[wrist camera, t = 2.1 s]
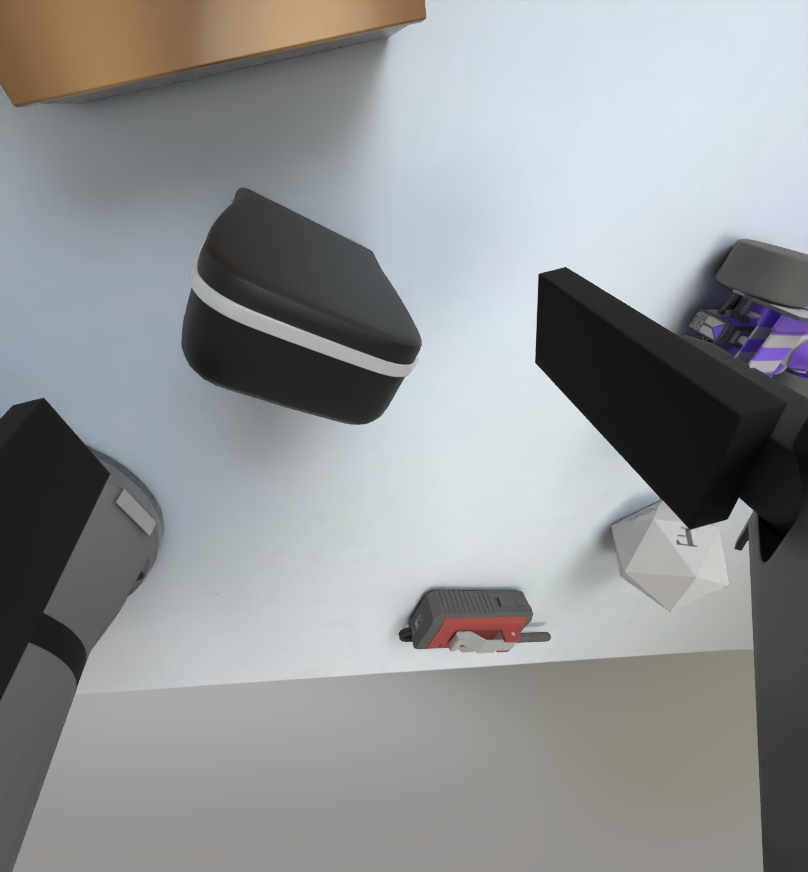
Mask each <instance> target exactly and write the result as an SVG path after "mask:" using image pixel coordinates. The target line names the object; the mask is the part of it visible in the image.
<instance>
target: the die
mask: <svg viewBox="0 0 808 872" xmlns="http://www.w3.org/2000/svg"><path fill="white" fill-rule="evenodd" d="M611 528H612V534H613V539H614V544H615V550H616V555H617V560H618V566H619V571H620V576H621V577H622V578H624V579H625V580H626V581H628V582H629V583H630V584H632V585H633V586H635V587H636V588H637V589H639V590H640V591H642V592H643V593H644V594H646V595H647V596H648V597H650V598H651V599H653V600H654V601H655V602H657V603H658V604H660V605H661V606H662V607H664V608H665V609H667V610H668V611H669V612H672V611H674V610H676V609H678V608H680V607H683V606H685V605H687V604H689V603H691V602H694V601H696V600H698V599H700V598H702V597H705V596H707V595H709V594H711V593H714V592H716V591H718V590H720V589H722V588H725V587H727V586H729V584H728V578H727V572H726V566H725V560H724V554H723V548H722V542H721V536H720V530H719V527H718V526H716V525H714V524H709V525H706V526H702V527H699V528H695V529H692V530H690V529H689V528H688V527H687V526H686V525H685V524H684V523H683V522H682V521H681V520H680V519H679V518H678V516H677V515H676V514H675V513H674V512H673V511H672V510H671V509H670V508H669V507H668V506H667V505H666V503H665V502H664V501H663V500H660V501H658V502H656V503H654V504H652V505H650V506H648V507H646V508H644V509H642V510H640V511H638V512H636V513H634V514H632V515H630V516H628V517H626V518H624V519H622V520H620V521H618V522H616V523H614V524H612V525H611Z"/></svg>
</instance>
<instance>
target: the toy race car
mask: <svg viewBox="0 0 808 872" xmlns="http://www.w3.org/2000/svg"><path fill="white" fill-rule="evenodd" d="M715 279H716V280H717V281H719V282H720V283H721V284H723V285H725V286H727V287H729V288H732V289H733V290H732V291H733V295H732V296H731V298H730V299H729V300H728V301H727V302H726V304H725V305H724V306H723V307H722V308H721V309H699V311H698V312H697V314H696V315H695V317H694V319H693V320H692V322H691V323H690V325H689V328H690V329H692V330H694V331H696V332H697V333H699V334H701V335H702V336H701V337H702V339H701V340H704V341H705V340H706V339H710V340H711V341H712V343H713V344H715V345H716V346H718V347H720V348H722V349H723V350H725V351H727V352H728V353H730V354H732V357H733V358H735V357H737V358H739V359H741V360H742V361H744V362H746V363H747V364H749V366H750V368H756V369H758V370H759V371H761V372H763V373H765V374H766V375H768V376H770V377H772V378H773V379H775V380H777V381H778V382H780V383H782V384H784V385H785V386H787V387H789V388H791V389H792V390H794V391H796V392H797V393H799V394H801V395H803V396H804V397H806V398H808V255H807V254H804V253H800V252H797V251H793V250H789V249H786V248H782V247H778V246H774V245H770V244H767V243H762V242H758V241H754V240H748V239H740V240H738V241H737V242H736V244H735V245H734V247H733V248H732V250H731V252H730V253H729V255H728V257H727V258H726V260H725V261H724V263H723V265H722V266H721V268H720V270H719V271H718V273H717V275H716V276H715ZM738 294H739V295H741V296H743V297H742V298H741V299H740V301H739V302H738V304H737V305H736V307H735V308H734V310H727V309H726V308H727V307H728V306H729V304H730V303H731V302H732V300H733V299H734V298H735V297H736V295H738Z"/></svg>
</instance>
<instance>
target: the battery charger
mask: <svg viewBox="0 0 808 872" xmlns="http://www.w3.org/2000/svg"><path fill="white" fill-rule="evenodd" d="M191 286H192V288H191V292H190V296H189V300H188V304H187V308H186V312H185V316H184V320H183V329H182V349H183V352H184V355H185V358H186V360H187V362H188V363H189V365H190V366H191V367H192V369H193V370H194V371H195V372H196V373H197V374H199V375H200V376H201V377H202V378H203V379H205V380H207V381H209V382H211V383H213V384H214V385H217V386H220V387H222V388H225V389H228V390H231V391H234V392H237V393H241V394H244V395H247V396H251V397H254V398H257V399H261V400H264V401H267V402H270V403H274V404H277V405H280V406H284V407H287V408H291V409H294V410H298V411H301V412H305V413H309V414H312V415H316V416H319V417H323V418H327V419H330V420H334V421H338V422H342V423H346V424H354V425H360V424H368V423H370V422H372V421H374V420H376V419H377V418H379V417H380V416H381V415H382V414H383V413H384V411H385V410H386V409H387V407H388V406H389V404H390V402H391V400H392V399H393V397H394V395H395V393H396V392H397V390H398V388H399V386H400V385H401V383H402V381H403V379H404V378H405V376H408V375H409V374H410V373H411V372H412V370H413V369H414V367H415V365H416V363H417V360H418V357H417V355H418V353H419V351H420V348H421V346H422V341H421V337H420V334H419V332H418V330H417V328H416V326H415V324H414V322H413V320H412V318H411V316H410V314H409V313H408V311H407V309H406V307H405V306H404V304H403V302H402V300H401V299H400V297H399V296H398V294H397V292H396V291H395V289H394V288H393V286H392V284H391V283H390V281H389V280H388V278H387V277H386V275H385V274H384V272H383V271H382V269H381V267H380V265H379V264H378V262H377V260H376V258H375V256H374V254H373V252H372V251H370V250H369V249H367V248H365V247H363V246H361V245H359V244H357V243H355V242H353V241H351V240H349V239H347V238H345V237H343V236H341V235H339V234H337V233H335V232H333V231H331V230H329V229H327V228H325V227H323V226H321V225H319V224H317V223H315V222H313V221H311V220H309V219H307V218H305V217H303V216H301V215H299V214H297V213H295V212H293V211H291V210H289V209H287V208H285V207H283V206H281V205H279V204H277V203H275V202H273V201H271V200H269V199H267V198H265V197H263V196H261V195H259V194H257V193H255V192H253V191H251V190H249V189H246V188H240V189H239V190H237V192H236V195H235V198H234V200H232V201H231V204H230V206H229V207H228V208H227V209H226V210H225V211H224V212H223V213H222V214H221V215H220V216H219V217H218V218H217V220H216V221H215V223H214V224H213V225H212V227H211V229H210V231H209V233H208V235H207V236H206V238H205V239H204V241H203V243H202V245H201V246H200V249H199V251H198V253H197V255H196V258H195V260H194V264H193V268H192V272H191Z"/></svg>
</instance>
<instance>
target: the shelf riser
mask: <svg viewBox="0 0 808 872" xmlns="http://www.w3.org/2000/svg"><path fill="white" fill-rule="evenodd" d="M425 19H426V9H425V0H0V84H1V86H2V87H3V89H4V91H5V92H6V94H7V96H8V97H9V99H10V100H11V102H12V104H13V105H14V106H15V107H26V106H31V105H36V104H62V103H83V102H88V101H92V100H97V99H102V98H106V97H111V96H116V95H120V94H125V93H130V92H134V91H139V90H144V89H148V88H153V87H157V86H162V85H167V84H171V83H176V82H181V81H185V80H190V79H195V78H199V77H204V76H209V75H213V74H218V73H223V72H227V71H232V70H237V69H241V68H246V67H251V66H255V65H260V64H264V63H269V62H274V61H278V60H283V59H288V58H292V57H297V56H302V55H306V54H311V53H316V52H320V51H325V50H330V49H334V48H339V47H344V46H348V45H353V44H358V43H362V42H367V41H371V40H376V39H381V38H385V37H389V36H391V35H393V34H394V33H396V32H397V31H399V30H401V29H402V28H404V27H406V26H407V25H410V24H415V23H419V22H422V21H424V20H425Z"/></svg>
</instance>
